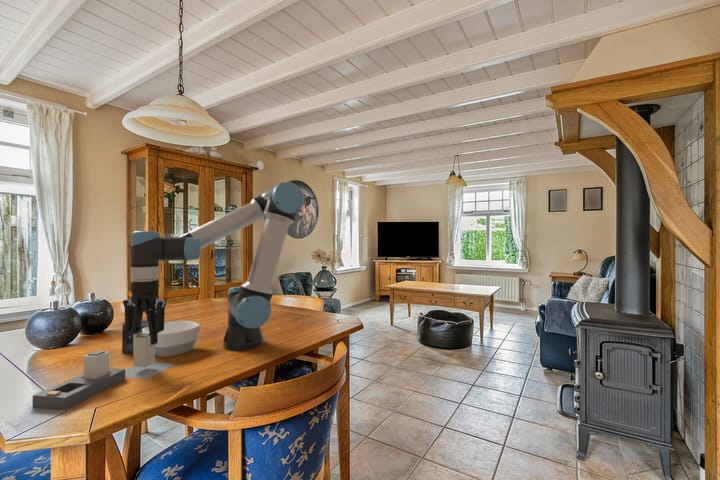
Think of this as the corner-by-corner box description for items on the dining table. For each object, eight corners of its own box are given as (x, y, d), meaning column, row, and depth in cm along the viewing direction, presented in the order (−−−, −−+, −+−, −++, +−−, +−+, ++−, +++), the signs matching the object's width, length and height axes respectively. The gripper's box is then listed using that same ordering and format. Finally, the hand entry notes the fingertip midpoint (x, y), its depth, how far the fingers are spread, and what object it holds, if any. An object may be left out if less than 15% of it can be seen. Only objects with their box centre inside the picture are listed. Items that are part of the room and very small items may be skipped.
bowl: (159, 364, 113) (159, 336, 113) (133, 354, 122) (133, 328, 122) (208, 349, 128) (208, 324, 128) (181, 341, 138) (181, 318, 137)
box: (122, 355, 122) (122, 325, 121) (122, 350, 126) (122, 322, 126) (147, 351, 126) (147, 322, 126) (147, 347, 131) (147, 319, 130)
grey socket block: (125, 380, 100) (125, 367, 100) (64, 412, 82) (64, 395, 82) (98, 379, 101) (98, 365, 101) (32, 409, 83) (32, 393, 83)
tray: (175, 365, 112) (175, 363, 112) (147, 380, 100) (148, 378, 100) (142, 363, 114) (142, 361, 114) (111, 378, 102) (111, 376, 102)
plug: (109, 383, 97) (109, 350, 97) (96, 389, 93) (96, 355, 93) (96, 382, 98) (96, 349, 98) (83, 388, 94) (83, 354, 94)
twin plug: (154, 362, 109) (155, 333, 109) (145, 367, 105) (145, 336, 105) (143, 361, 109) (143, 332, 109) (133, 366, 105) (133, 336, 105)
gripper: (177, 279, 109) (177, 351, 109) (129, 277, 111) (129, 348, 112) (161, 282, 102) (160, 360, 102) (110, 280, 104) (109, 356, 104)
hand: (144, 354), depth 107 cm, fingers closed on twin plug, 4 cm apart
